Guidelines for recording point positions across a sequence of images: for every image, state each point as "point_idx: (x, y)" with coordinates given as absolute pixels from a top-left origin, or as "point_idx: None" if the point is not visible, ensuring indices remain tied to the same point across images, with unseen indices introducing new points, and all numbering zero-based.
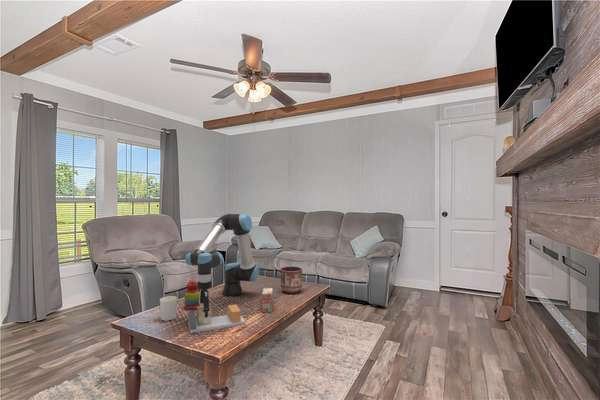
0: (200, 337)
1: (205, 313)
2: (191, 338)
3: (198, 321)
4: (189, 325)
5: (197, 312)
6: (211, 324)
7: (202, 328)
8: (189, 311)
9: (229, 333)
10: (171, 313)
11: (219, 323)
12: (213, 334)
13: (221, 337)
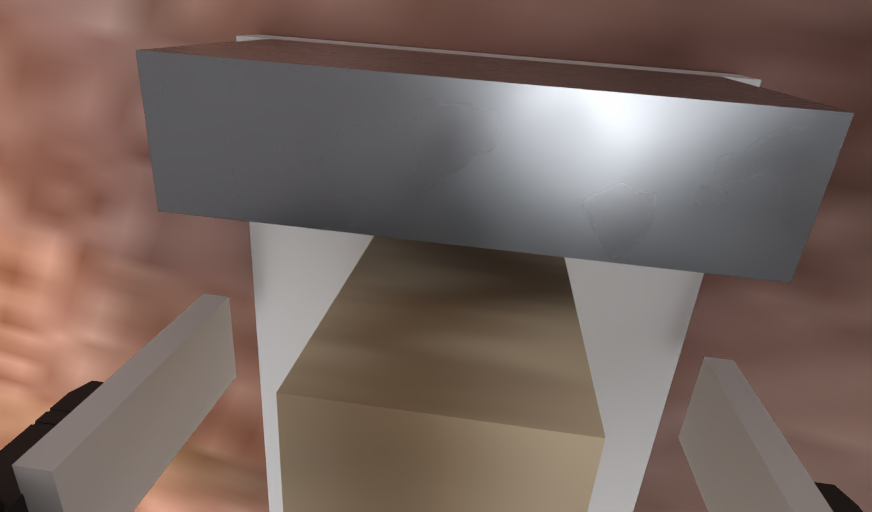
0: (64, 149)
1: (5, 456)
2: (58, 12)
3: (372, 239)
4: (446, 54)
5: (551, 327)
6: None
7: (251, 241)
8: (802, 143)
9: None
10: None
11: None
12: (118, 320)
13: (12, 370)
